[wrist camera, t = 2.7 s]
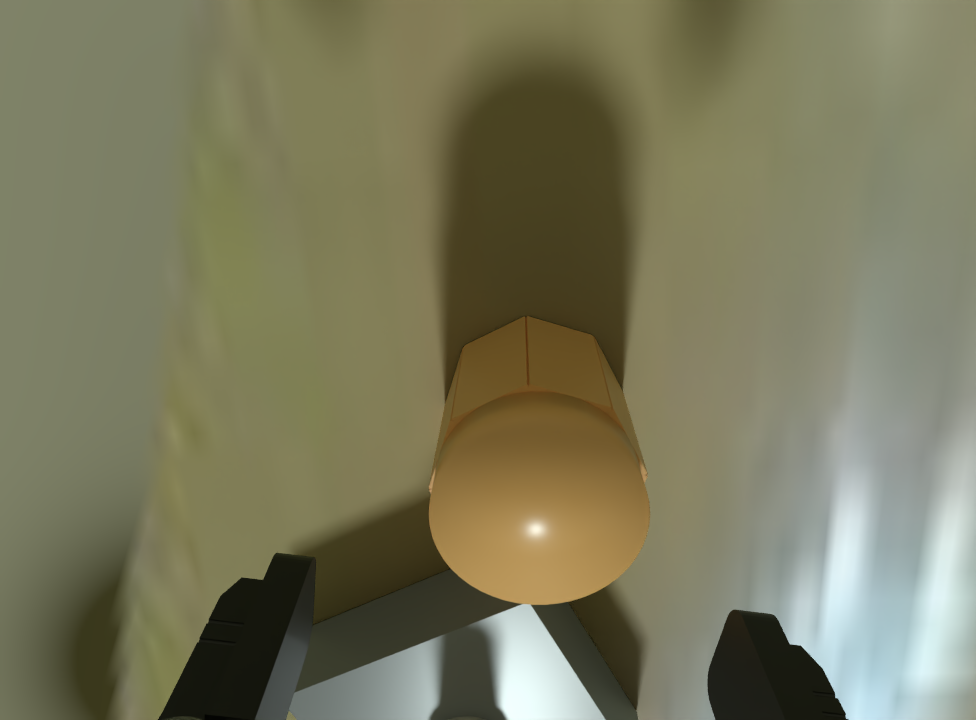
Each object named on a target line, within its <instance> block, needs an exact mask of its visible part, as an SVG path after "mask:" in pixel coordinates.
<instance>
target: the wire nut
mask: <svg viewBox="0 0 976 720" xmlns="http://www.w3.org/2000/svg"><path fill="white" fill-rule="evenodd" d="M647 474H648V473H647V470H646V467H645V464H644V460H643V457H642V454H641V450H640V447H639V444H638V440H637V437H636V434H635V430H634V427H633V424H632V420H631V417H630V414H629V410H628V407H627V404H626V401H625V397H624V394H623V391H622V389H621V387H620V385H619V383H618V381H617V379H616V377H615V375H614V373H613V372H612V370H611V368H610V366H609V364H608V362H607V360H606V358H605V356H604V354H603V352H602V350H601V348H600V346H599V344H598V342H597V340H596V339H595V337H593V335H591V334H587V333H584V332H580V331H577V330H574V329H570V328H567V327H563V326H560V325H557V324H553V323H550V322H547V321H543V320H540V319H536V318H533V317H530V316H527V317H525V316H524V317H522V318H520V319H518V320H515V321H513V322H511V323H509V324H507V325H505V326H503V327H501V328H499V329H497V330H495V331H493V332H491V333H489V334H487V335H485V336H483V337H481V338H479V339H476V340H474V341H472V342H470V343H468V344H466V345H464V347H463V348H462V351H461V355H460V358H459V361H458V364H457V368H456V371H455V374H454V377H453V380H452V384H451V387H450V390H449V393H448V397H447V400H446V403H445V407H444V412H443V417H442V422H441V427H440V433H439V438H438V443H437V448H436V453H435V458H434V463H433V468H432V473H431V478H430V483H429V491H430V493H431V497H430V503H429V524H430V529H431V533H432V538H433V540H434V542H435V545H436V547H437V549H438V551H439V553H440V554H441V556H442V558H443V559H444V561H445V562H446V563H447V564H448V566H449V567H450V568H451V569H452V570H453V571H454V572H455V573H456V574H457V575H458V576H459V577H460V578H461V579H463V580H464V581H465V582H467V583H468V584H469V585H471V586H473V587H474V588H476V589H478V590H480V591H481V592H484V593H486V594H488V595H491V596H493V597H496V598H499V599H502V600H505V601H510V602H515V603H520V604H530V605H549V604H558V603H564V602H569V601H573V600H576V599H579V598H583V597H586V596H588V595H590V594H592V593H595V592H597V591H599V590H600V589H602V588H604V587H606V586H607V585H609V584H610V583H612V582H613V581H614V580H616V579H617V578H618V577H619V576H621V575H622V574H623V573H624V572H625V571H626V570H627V569H628V568H629V566H630V565H631V564H632V562H633V561H634V560H635V559H636V557H637V555H638V554H639V552H640V550H641V548H642V546H643V544H644V541H645V539H646V536H647V532H648V528H649V521H650V507H649V499H648V495H647V491H646V487H645V484H644V483H645V481H646V479H647Z"/></svg>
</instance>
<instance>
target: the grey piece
mask: <svg viewBox="0 0 976 720" xmlns="http://www.w3.org/2000/svg"><path fill="white" fill-rule="evenodd" d="M289 711H290V712H291V713H292V714H293V715H294V717H295V718H296V719H297V720H638V716H637V712H636V710H635V709H634V707H633V705H632V704H631V702H630V701H629V699H628V697H627V696H626V694H625V693H624V691H623V689H622V688H621V686H620V685H619V683H618V681H617V680H616V678H615V677H614V675H613V674H612V672H611V670H610V669H609V667H608V666H607V664H606V662H605V661H604V659H603V658H602V656H601V654H600V653H599V651H598V650H597V648H596V646H595V645H594V643H593V642H592V640H591V638H590V637H589V635H588V634H587V632H586V630H585V629H584V627H583V626H582V624H581V622H580V621H579V619H578V618H577V616H576V614H575V613H574V611H573V610H572V608H571V606H570V605H569V603H568V602H564V603H558V604H549V605H530V604H520V603H515V602H510V601H505V600H502V599H499V598H496V597H493V596H491V595H488V594H486V593H484V592H481V591H480V590H478V589H476V588H474V587H473V586H471V585H469V584H468V583H467V582H465V581H464V580H463V579H461V578H460V577H459V576H458V575H457V574H456V573H455V572H454V571H453V570H452V569H449V570H447V571H444V572H442V573H439V574H437V575H434V576H432V577H430V578H427V579H425V580H422V581H420V582H417V583H415V584H413V585H410V586H408V587H405V588H403V589H400V590H398V591H396V592H393V593H391V594H388V595H386V596H383V597H381V598H378V599H376V600H374V601H371V602H369V603H366V604H364V605H361V606H359V607H357V608H354V609H352V610H349V611H347V612H344V613H342V614H340V615H337V616H335V617H332V618H330V619H327V620H325V621H322V622H320V623H318V624H315V625H313V626H312V631H311V636H310V641H309V646H308V650H307V653H306V657H305V660H304V663H303V666H302V670H301V673H300V676H299V679H298V682H297V686H296V689H295V692H294V695H293V698H292V701H291V705H290V708H289Z"/></svg>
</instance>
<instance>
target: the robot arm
mask: <svg viewBox="0 0 976 720" xmlns="http://www.w3.org/2000/svg"><path fill="white" fill-rule="evenodd" d="M315 574H316V559H315V557H307V556H299V555H291V554H283V553H276V554H275V555H274V556H273V559H272V561H271V563H270V565H269V568H268V570H267V572H266V575H265V577H264V579H263V580H258V579H250V578H241V579H240V580H238V581H237V582H236V583H235V584H234V585H233V586H232V587H230V588H229V589H228V590H227V591H226V592H225V593H223V594H222V595H221V596H220V598H219V600H218V602H217V604H216V606H215V608H214V610H213V612H212V614H211V616H210V618H209V622H208V624H206V626H205V628H204V630H203V632H202V634H201V636H200V640H199V643H197V644H196V646H195V648H194V650H193V652H192V654H191V656H190V658H189V660H188V662H187V664H186V666H185V668H184V670H183V672H182V674H181V676H180V678H179V680H178V682H177V684H176V686H175V688H174V690H173V692H172V694H171V696H170V698H169V700H168V702H167V704H166V706H165V708H164V710H163V712H162V714H161V716H160V717H159V719H158V720H286V717H287V714H288V711H289V708H290V705H291V701H292V698H293V695H294V692H295V689H296V686H297V682H298V679H299V676H300V673H301V670H302V666H303V663H304V660H305V657H306V653H307V650H308V646H309V641H310V636H311V631H312V624H313V610H314V592H315ZM708 695H709V700H710V704H711V707H712V710H713V713H714V716H715V720H849V719H846V717H845V715H846V714H845V712H844V710H843V708H842V706H841V704H840V702H839V700H838V699H837V698H835V692H834V690H833V688H832V686H831V684H830V682H829V681H828V679H827V677H826V675H825V673H824V671H823V669H822V668H821V667H820V666H819V665H818V664H817V662H816V661H815V660H814V659H813V658H812V657H811V656H810V655H809V654H808V653H807V652H806V651H805V650H804V649H803V648H802V647H801V646H798V645H790V644H789V642H788V640H787V638H786V636H785V634H784V632H783V629H782V627H781V625H780V623H779V621H778V620H777V618H776V617H775V616H774V615H772V614H766V613H758V612H750V611H742V610H732V611H731V612H730V613H729V615H728V617H727V620H726V623H725V625H724V628H723V631H722V634H721V636H720V639H719V642H718V645H717V647H716V650H715V653H714V656H713V658H712V661H711V664H710V667H709V672H708Z"/></svg>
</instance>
